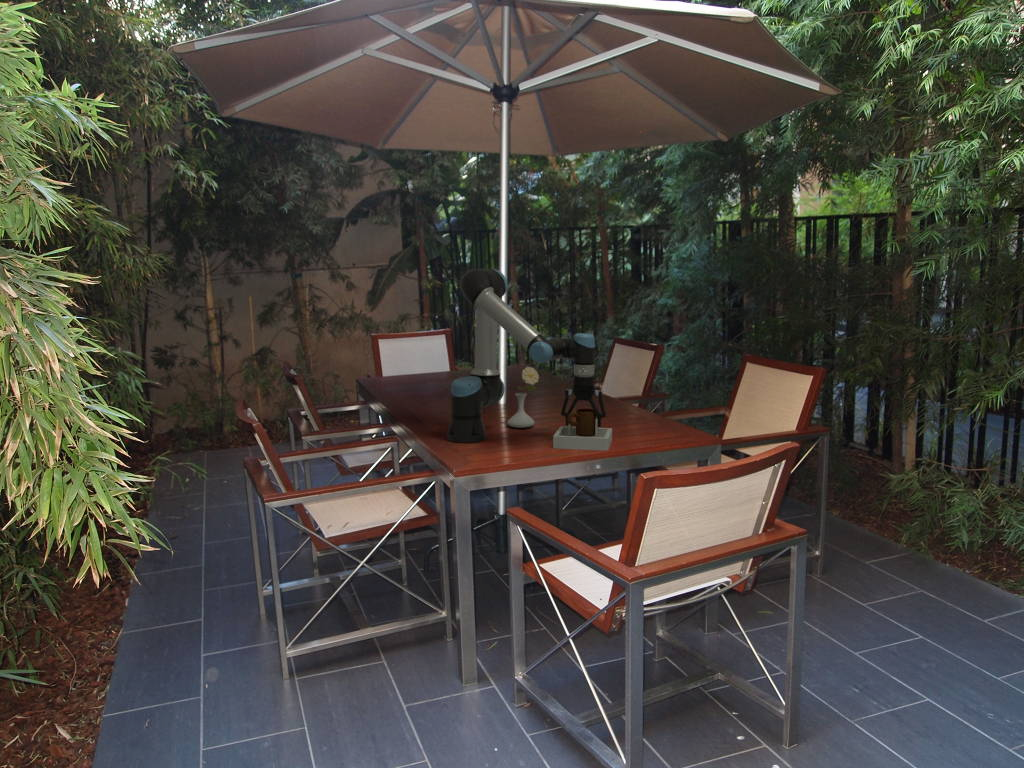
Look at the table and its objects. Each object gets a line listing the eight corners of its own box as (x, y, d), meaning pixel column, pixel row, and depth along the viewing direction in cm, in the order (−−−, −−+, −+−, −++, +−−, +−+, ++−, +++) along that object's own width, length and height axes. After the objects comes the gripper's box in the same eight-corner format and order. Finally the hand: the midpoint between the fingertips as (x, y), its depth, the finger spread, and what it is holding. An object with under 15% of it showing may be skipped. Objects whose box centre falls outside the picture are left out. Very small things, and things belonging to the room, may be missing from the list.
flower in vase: (510, 430, 325) (510, 369, 321) (504, 424, 336) (504, 365, 332) (541, 428, 327) (541, 368, 323) (535, 423, 338) (535, 364, 334)
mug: (572, 439, 294) (573, 414, 293) (561, 435, 301) (562, 410, 299) (600, 435, 300) (600, 411, 298) (588, 432, 306) (589, 407, 305)
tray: (553, 448, 294) (553, 436, 293) (560, 437, 311) (560, 426, 311) (607, 450, 290) (608, 438, 289) (612, 439, 307) (612, 428, 307)
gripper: (553, 376, 295) (552, 435, 299) (613, 377, 291) (611, 438, 294) (556, 373, 303) (555, 431, 306) (614, 374, 298) (613, 434, 302)
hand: (583, 434), depth 300 cm, fingers closed on mug, 9 cm apart
